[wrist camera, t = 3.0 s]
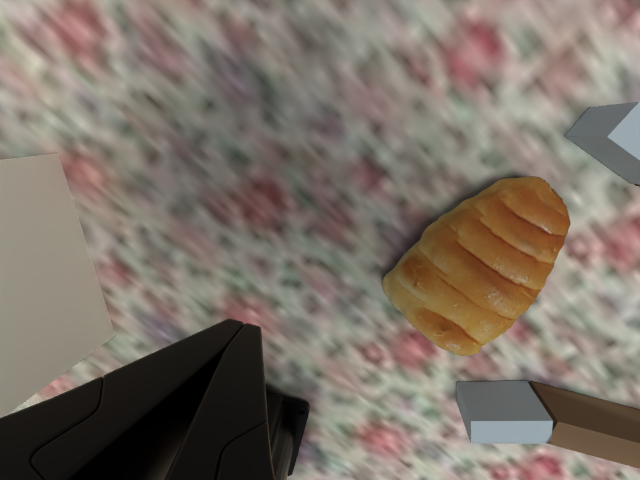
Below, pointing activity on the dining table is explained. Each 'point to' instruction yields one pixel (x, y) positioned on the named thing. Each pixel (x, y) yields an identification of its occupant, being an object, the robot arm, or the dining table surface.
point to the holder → (549, 402)
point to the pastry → (480, 264)
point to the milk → (43, 281)
